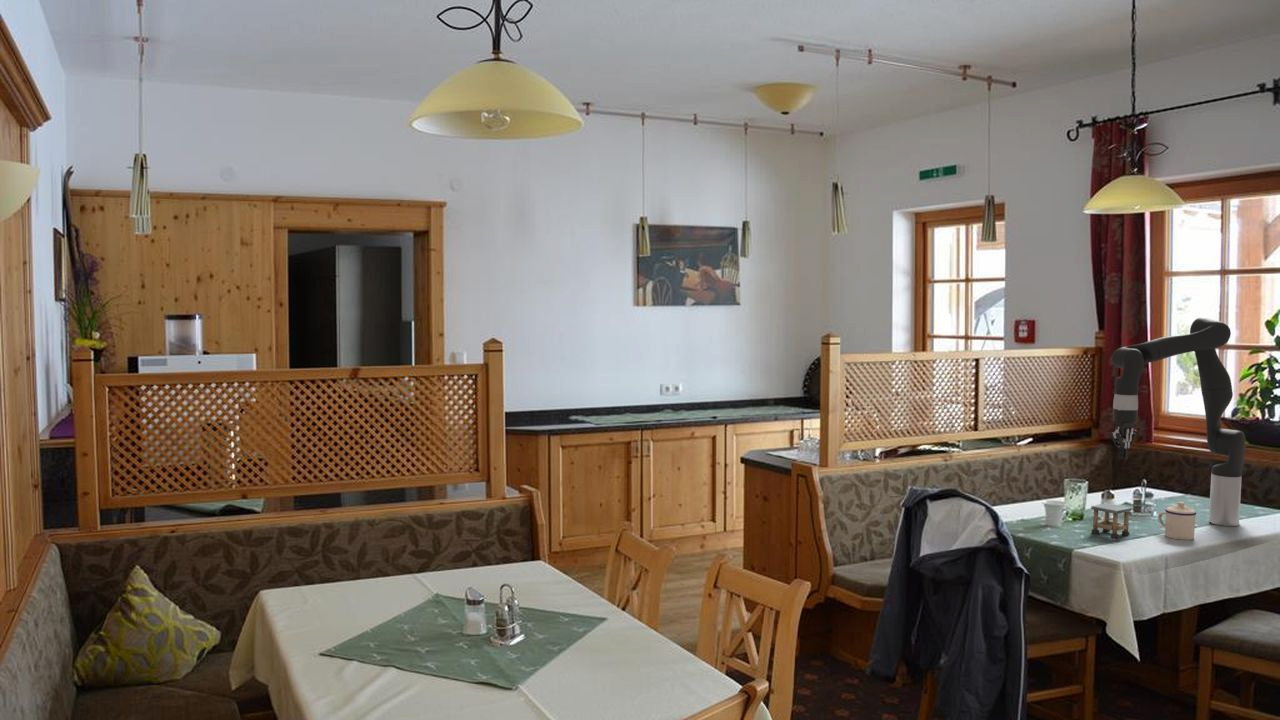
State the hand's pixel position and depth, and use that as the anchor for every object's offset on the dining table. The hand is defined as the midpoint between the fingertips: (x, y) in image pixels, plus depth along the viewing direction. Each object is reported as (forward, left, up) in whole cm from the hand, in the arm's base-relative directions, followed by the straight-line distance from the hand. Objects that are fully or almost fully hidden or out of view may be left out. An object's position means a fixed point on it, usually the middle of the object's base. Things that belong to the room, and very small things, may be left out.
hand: (1123, 459), depth 344 cm
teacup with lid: (-10, +13, -25) cm, 30 cm away
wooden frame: (+1, 0, -20) cm, 20 cm away
